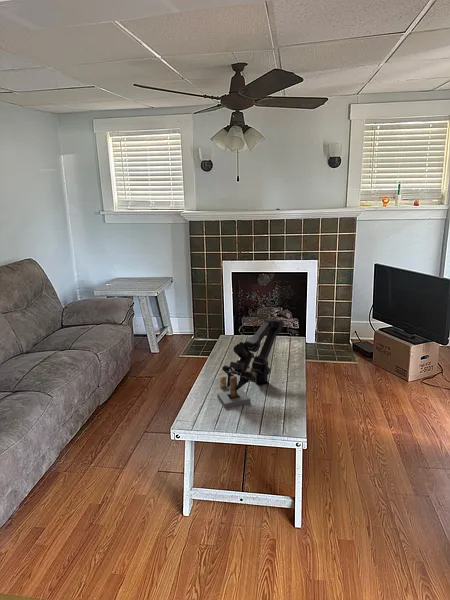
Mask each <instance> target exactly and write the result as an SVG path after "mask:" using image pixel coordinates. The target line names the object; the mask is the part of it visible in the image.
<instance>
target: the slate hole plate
mask: <svg viewBox="0 0 450 600" xmlns="http://www.w3.org/2000/svg"><path fill="white" fill-rule="evenodd" d="M216 395H217V399H218V401H219V402H220V404H221V405H222V407H223V408H224V409H227V408H232V407H239V406H244V405H249V404H251V398H250V397H249V395H248V394H247V392H245V391H244V390H243V388H239V389H238V390H237V398H235V399H230V390H228V391H227V390H226V391H221V392H217V394H216Z"/></svg>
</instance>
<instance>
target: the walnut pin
mask: <svg viewBox="0 0 450 600" xmlns="http://www.w3.org/2000/svg"><path fill="white" fill-rule="evenodd" d="M237 385H238V377H237V376H234V375H233V376H231V377H230V386H229V391H230V399H235V398H237V390H236V387H237Z"/></svg>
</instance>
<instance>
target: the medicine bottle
mask: <svg viewBox="0 0 450 600" xmlns="http://www.w3.org/2000/svg"><path fill="white" fill-rule="evenodd" d="M238 358H239V359H238V360H240V357H238ZM252 362H253V358H252V359H251V362H250V364H249V368H247V370H246V372H248V373H250V372H251V370H252ZM246 372H245V373H246Z"/></svg>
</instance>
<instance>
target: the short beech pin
mask: <svg viewBox="0 0 450 600" xmlns="http://www.w3.org/2000/svg"><path fill="white" fill-rule="evenodd" d="M219 388H222V389H225V388H228V387H227V376H226V375H225V374H222V375H220V376H219Z"/></svg>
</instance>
